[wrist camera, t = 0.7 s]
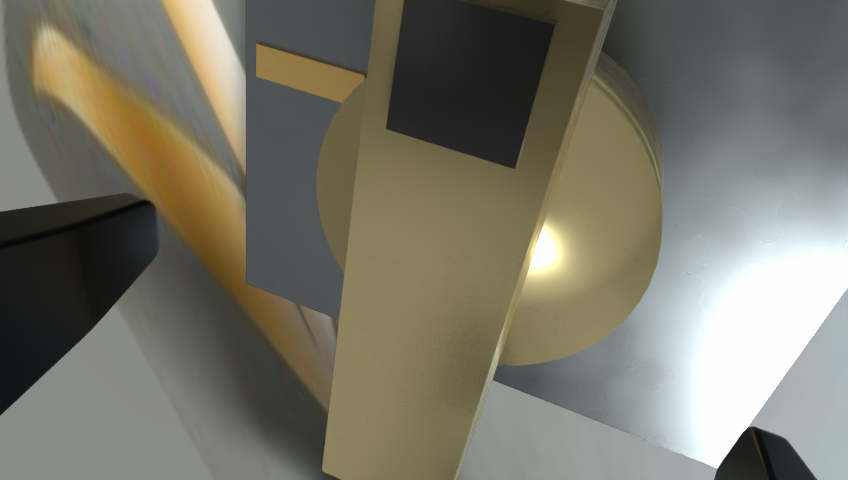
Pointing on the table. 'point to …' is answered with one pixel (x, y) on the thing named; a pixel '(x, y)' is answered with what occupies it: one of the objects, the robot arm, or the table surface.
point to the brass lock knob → (478, 218)
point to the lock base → (682, 200)
